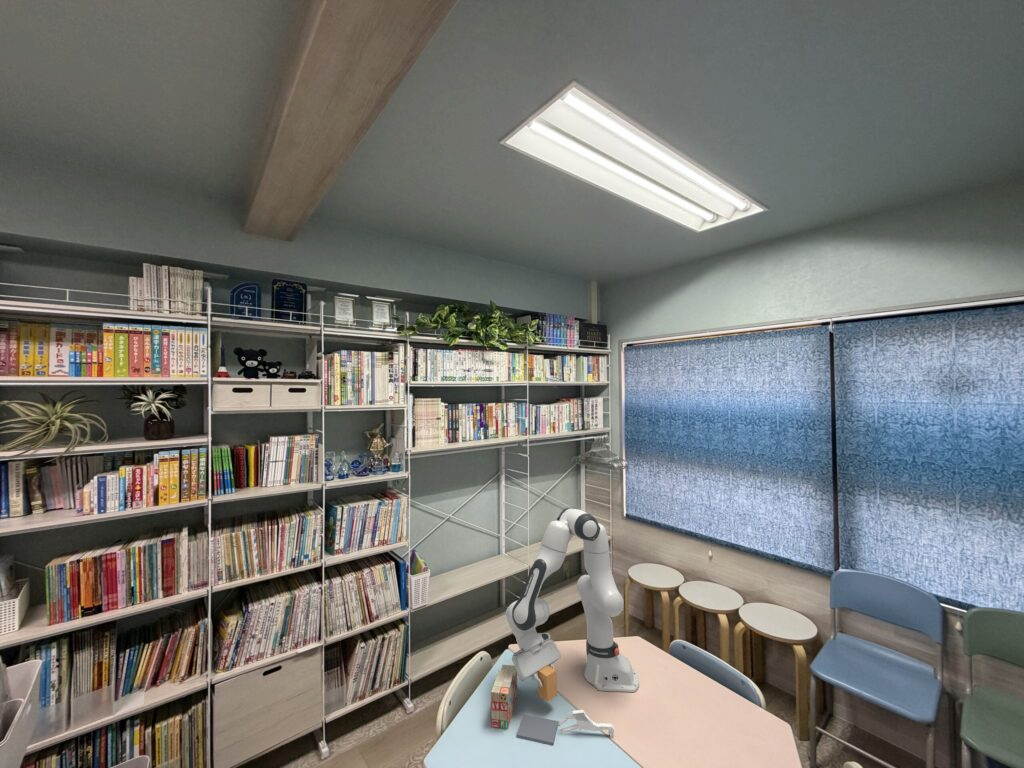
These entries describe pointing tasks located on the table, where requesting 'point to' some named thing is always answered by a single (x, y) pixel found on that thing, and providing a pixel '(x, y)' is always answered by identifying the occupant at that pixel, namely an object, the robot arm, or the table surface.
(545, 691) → the orange block
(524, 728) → the slate mat
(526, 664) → the robot arm
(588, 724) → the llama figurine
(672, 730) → the table surface
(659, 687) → the table surface
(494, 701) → the stack of blocks
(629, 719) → the table surface
